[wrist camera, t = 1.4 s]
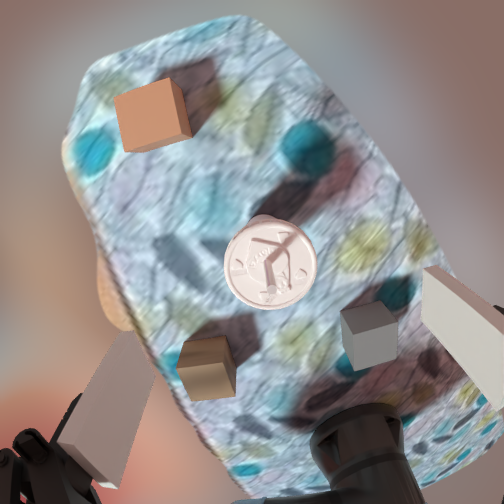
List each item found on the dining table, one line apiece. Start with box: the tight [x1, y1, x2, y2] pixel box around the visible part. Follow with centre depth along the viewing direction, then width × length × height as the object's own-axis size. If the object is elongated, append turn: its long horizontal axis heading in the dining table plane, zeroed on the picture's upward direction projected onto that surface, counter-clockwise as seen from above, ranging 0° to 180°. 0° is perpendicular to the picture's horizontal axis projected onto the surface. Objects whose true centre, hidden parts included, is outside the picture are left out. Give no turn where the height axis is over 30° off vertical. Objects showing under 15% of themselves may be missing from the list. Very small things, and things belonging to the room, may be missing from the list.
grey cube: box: [340, 300, 398, 371], centre depth 30 cm, size 5×5×5 cm
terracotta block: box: [114, 77, 193, 153], centre depth 23 cm, size 5×5×5 cm
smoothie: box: [224, 214, 317, 310], centre depth 23 cm, size 6×6×14 cm
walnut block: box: [176, 335, 236, 401], centre depth 31 cm, size 5×5×5 cm
